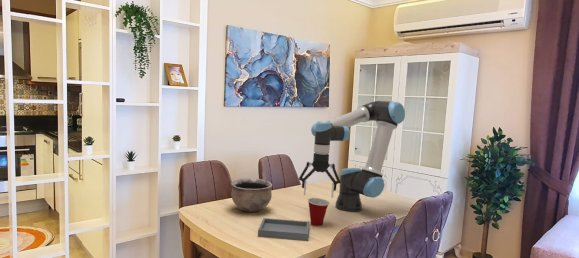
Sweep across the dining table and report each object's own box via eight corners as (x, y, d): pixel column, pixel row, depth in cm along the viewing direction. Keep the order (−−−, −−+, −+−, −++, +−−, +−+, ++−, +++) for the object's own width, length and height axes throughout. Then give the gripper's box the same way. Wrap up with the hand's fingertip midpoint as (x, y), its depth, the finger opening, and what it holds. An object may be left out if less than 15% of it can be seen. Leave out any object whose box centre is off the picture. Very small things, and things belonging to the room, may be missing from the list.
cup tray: (308, 227, 173) (309, 221, 173) (307, 240, 157) (308, 233, 157) (263, 224, 175) (263, 217, 174) (257, 236, 159) (258, 229, 158)
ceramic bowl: (275, 206, 203) (277, 180, 202) (264, 218, 182) (265, 189, 181) (238, 202, 208) (239, 176, 207) (223, 213, 187) (224, 185, 186)
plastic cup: (326, 229, 172) (328, 204, 171) (304, 226, 174) (306, 202, 173) (329, 221, 183) (330, 198, 182) (307, 219, 185) (309, 196, 184)
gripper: (346, 154, 178) (343, 196, 180) (296, 150, 180) (293, 191, 182) (347, 156, 171) (344, 200, 172) (295, 152, 173) (292, 195, 174)
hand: (318, 195), depth 177 cm, fingers open, 13 cm apart
